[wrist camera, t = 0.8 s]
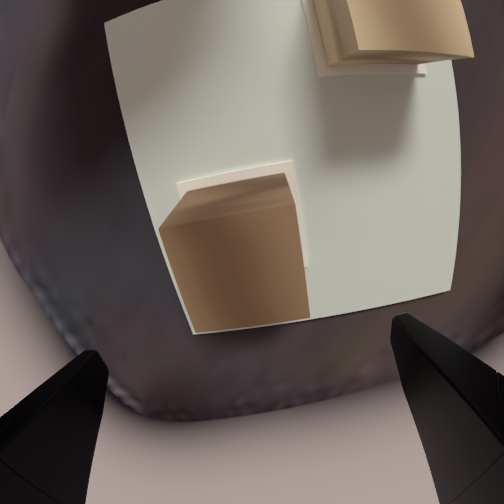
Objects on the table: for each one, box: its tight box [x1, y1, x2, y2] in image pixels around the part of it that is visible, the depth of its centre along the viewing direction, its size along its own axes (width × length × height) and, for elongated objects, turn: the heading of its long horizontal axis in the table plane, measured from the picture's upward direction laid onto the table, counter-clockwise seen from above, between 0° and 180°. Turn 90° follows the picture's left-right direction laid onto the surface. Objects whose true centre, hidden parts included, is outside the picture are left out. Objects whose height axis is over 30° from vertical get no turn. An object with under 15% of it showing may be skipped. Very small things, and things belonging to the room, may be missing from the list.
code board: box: [104, 0, 461, 335], centre depth 15 cm, size 18×20×1 cm
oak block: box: [312, 0, 474, 66], centre depth 9 cm, size 5×5×5 cm
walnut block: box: [158, 173, 310, 333], centre depth 14 cm, size 5×5×5 cm
